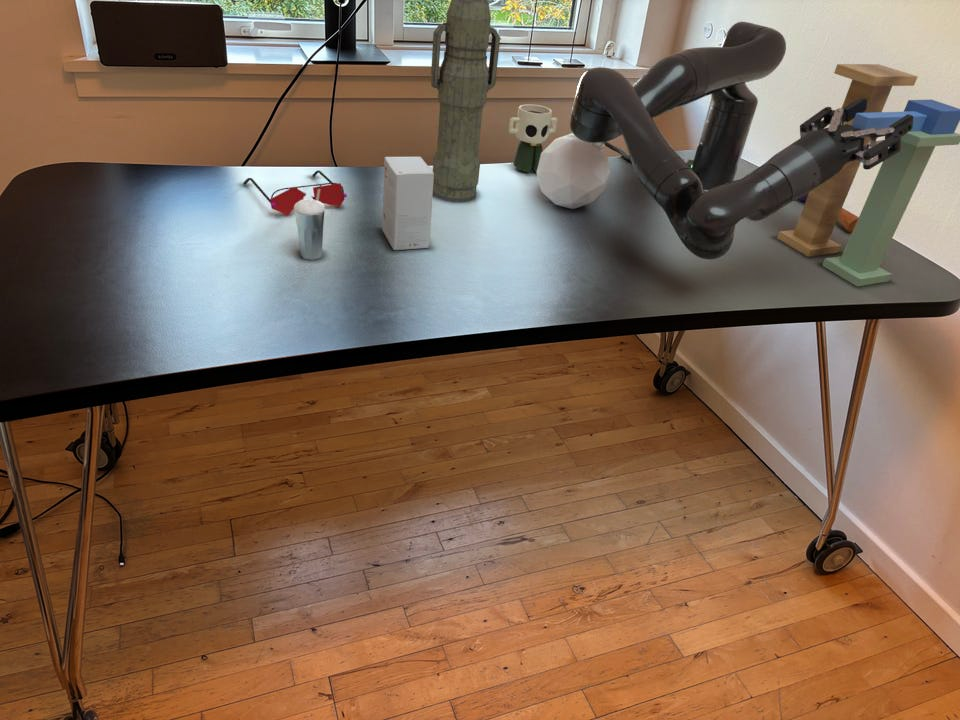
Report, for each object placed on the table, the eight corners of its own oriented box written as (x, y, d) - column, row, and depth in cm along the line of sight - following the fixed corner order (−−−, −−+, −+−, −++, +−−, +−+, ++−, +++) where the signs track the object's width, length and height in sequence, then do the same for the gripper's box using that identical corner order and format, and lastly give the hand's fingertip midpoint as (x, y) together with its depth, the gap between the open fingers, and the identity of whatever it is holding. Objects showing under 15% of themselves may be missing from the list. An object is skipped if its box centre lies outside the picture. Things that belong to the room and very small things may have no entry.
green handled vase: (491, 199, 139) (513, 2, 119) (435, 204, 134) (449, -1, 114) (471, 182, 145) (490, -8, 125) (418, 187, 140) (428, -10, 120)
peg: (872, 137, 105) (882, 113, 103) (840, 125, 109) (850, 101, 107) (953, 133, 112) (965, 110, 110) (921, 121, 116) (931, 99, 114)
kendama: (846, 215, 140) (790, 170, 155) (838, 241, 144) (784, 195, 159) (873, 209, 141) (815, 166, 155) (864, 235, 145) (809, 190, 159)
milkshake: (333, 251, 114) (332, 192, 109) (316, 264, 110) (314, 203, 104) (308, 244, 115) (306, 185, 110) (291, 257, 111) (287, 197, 105)
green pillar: (852, 287, 122) (920, 137, 108) (817, 266, 128) (878, 121, 113) (892, 280, 126) (963, 135, 111) (856, 260, 132) (919, 119, 117)
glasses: (272, 219, 121) (270, 191, 119) (243, 184, 133) (240, 158, 130) (348, 209, 128) (348, 182, 125) (314, 176, 139) (313, 151, 136)
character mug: (509, 175, 150) (517, 113, 143) (498, 164, 156) (505, 103, 148) (556, 174, 154) (566, 114, 146) (543, 163, 159) (552, 104, 152)
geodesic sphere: (628, 171, 142) (596, 107, 136) (628, 197, 130) (592, 128, 125) (562, 204, 148) (529, 144, 143) (556, 232, 137) (519, 167, 131)
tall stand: (803, 257, 131) (875, 76, 113) (773, 238, 137) (837, 63, 118) (842, 252, 135) (918, 76, 116) (811, 234, 140) (878, 64, 122)
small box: (430, 248, 118) (435, 173, 111) (392, 251, 116) (395, 174, 109) (417, 228, 124) (420, 155, 117) (381, 230, 122) (383, 156, 115)
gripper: (835, 164, 99) (929, 103, 99) (764, 131, 109) (850, 76, 110) (837, 206, 104) (926, 147, 105) (769, 171, 114) (850, 118, 115)
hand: (887, 111), depth 107 cm, fingers open, 8 cm apart
